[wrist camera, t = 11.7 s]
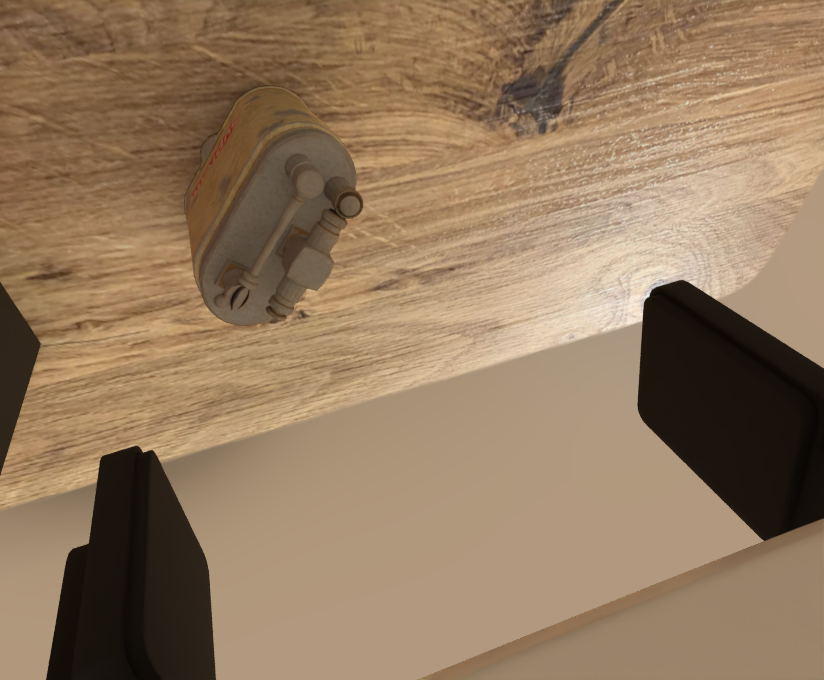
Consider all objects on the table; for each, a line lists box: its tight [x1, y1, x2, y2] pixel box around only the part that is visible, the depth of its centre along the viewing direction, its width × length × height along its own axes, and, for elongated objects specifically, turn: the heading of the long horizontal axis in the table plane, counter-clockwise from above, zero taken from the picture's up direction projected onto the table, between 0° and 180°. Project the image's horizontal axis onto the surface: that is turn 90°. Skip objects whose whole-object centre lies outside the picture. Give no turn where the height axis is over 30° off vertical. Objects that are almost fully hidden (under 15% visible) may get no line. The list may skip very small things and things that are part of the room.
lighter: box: [184, 86, 363, 326], centre depth 23 cm, size 7×4×10 cm, turn 145°
